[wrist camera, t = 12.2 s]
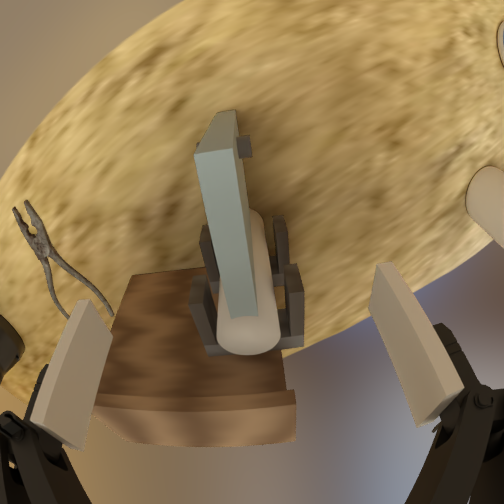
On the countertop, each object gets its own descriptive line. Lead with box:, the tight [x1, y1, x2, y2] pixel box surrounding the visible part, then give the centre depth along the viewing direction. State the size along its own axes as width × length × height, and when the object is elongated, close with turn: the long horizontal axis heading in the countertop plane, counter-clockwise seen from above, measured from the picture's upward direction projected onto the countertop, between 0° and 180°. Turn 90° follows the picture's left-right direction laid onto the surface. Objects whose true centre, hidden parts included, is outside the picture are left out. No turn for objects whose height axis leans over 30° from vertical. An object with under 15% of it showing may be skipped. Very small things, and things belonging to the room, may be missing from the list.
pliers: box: [12, 200, 114, 320], centre depth 31 cm, size 10×1×20 cm
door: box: [194, 110, 281, 355], centre depth 21 cm, size 4×14×14 cm, turn 7°
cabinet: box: [92, 215, 304, 447], centre depth 26 cm, size 18×14×17 cm
